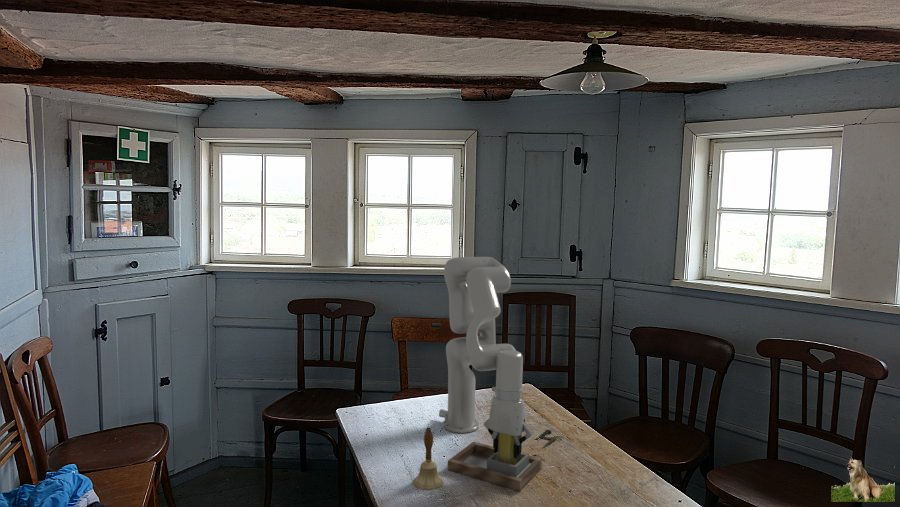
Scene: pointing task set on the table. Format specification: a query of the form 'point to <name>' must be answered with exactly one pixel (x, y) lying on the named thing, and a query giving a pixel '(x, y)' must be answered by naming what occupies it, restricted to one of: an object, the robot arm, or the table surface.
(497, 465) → the square serving tray
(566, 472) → the table surface
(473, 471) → the open wooden box
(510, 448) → the vase
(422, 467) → the hand bell
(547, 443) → the hacksaw
